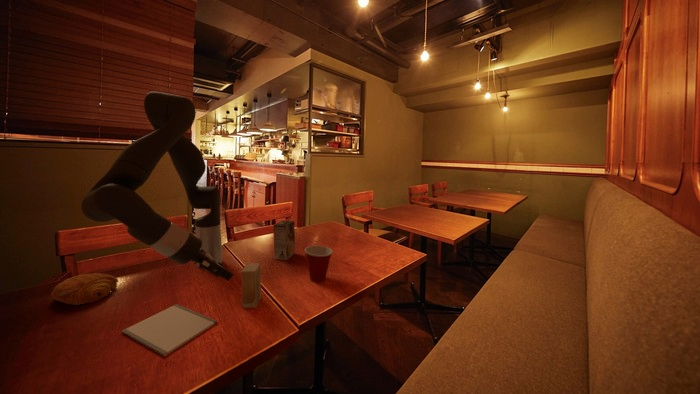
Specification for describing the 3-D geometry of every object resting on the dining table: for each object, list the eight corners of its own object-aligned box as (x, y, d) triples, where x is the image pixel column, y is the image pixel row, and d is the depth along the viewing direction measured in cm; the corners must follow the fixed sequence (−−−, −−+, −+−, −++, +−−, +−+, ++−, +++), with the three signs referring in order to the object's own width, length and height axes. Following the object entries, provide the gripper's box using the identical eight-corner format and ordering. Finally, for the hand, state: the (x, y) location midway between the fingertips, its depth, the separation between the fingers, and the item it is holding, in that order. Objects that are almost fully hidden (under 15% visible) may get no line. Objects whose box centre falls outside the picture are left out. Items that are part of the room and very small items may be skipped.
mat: (121, 333, 68) (121, 330, 68) (176, 306, 81) (176, 303, 81) (163, 356, 61) (163, 354, 60) (216, 322, 73) (216, 320, 73)
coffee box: (282, 252, 127) (282, 220, 125) (295, 253, 126) (295, 221, 124) (273, 259, 119) (273, 224, 116) (286, 260, 117) (286, 226, 115)
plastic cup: (335, 284, 97) (336, 253, 95) (306, 287, 94) (306, 255, 92) (329, 271, 108) (329, 243, 106) (302, 274, 105) (302, 245, 103)
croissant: (72, 319, 77) (70, 295, 75) (43, 300, 82) (40, 277, 80) (128, 294, 90) (127, 273, 88) (100, 279, 95) (99, 259, 93)
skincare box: (248, 297, 86) (246, 262, 85) (261, 297, 87) (260, 262, 85) (241, 308, 80) (240, 271, 78) (256, 308, 81) (255, 271, 79)
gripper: (195, 237, 63) (244, 269, 73) (180, 225, 73) (225, 254, 83) (170, 264, 60) (225, 293, 70) (159, 247, 70) (208, 275, 80)
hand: (225, 272), depth 76 cm, fingers open, 8 cm apart
